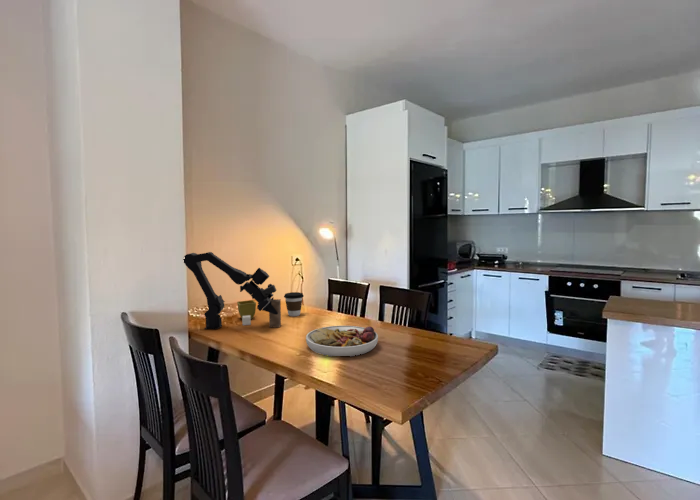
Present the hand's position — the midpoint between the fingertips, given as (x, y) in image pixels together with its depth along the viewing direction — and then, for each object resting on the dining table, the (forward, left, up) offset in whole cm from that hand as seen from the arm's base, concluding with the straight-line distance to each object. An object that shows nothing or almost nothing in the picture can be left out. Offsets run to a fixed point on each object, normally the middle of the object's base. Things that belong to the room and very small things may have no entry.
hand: (277, 312), depth 189 cm
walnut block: (-1, 0, -7) cm, 7 cm away
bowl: (+36, -28, -7) cm, 46 cm away
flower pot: (-21, +14, -7) cm, 26 cm away
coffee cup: (+3, +23, -7) cm, 24 cm away
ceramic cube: (-17, +3, -7) cm, 19 cm away
